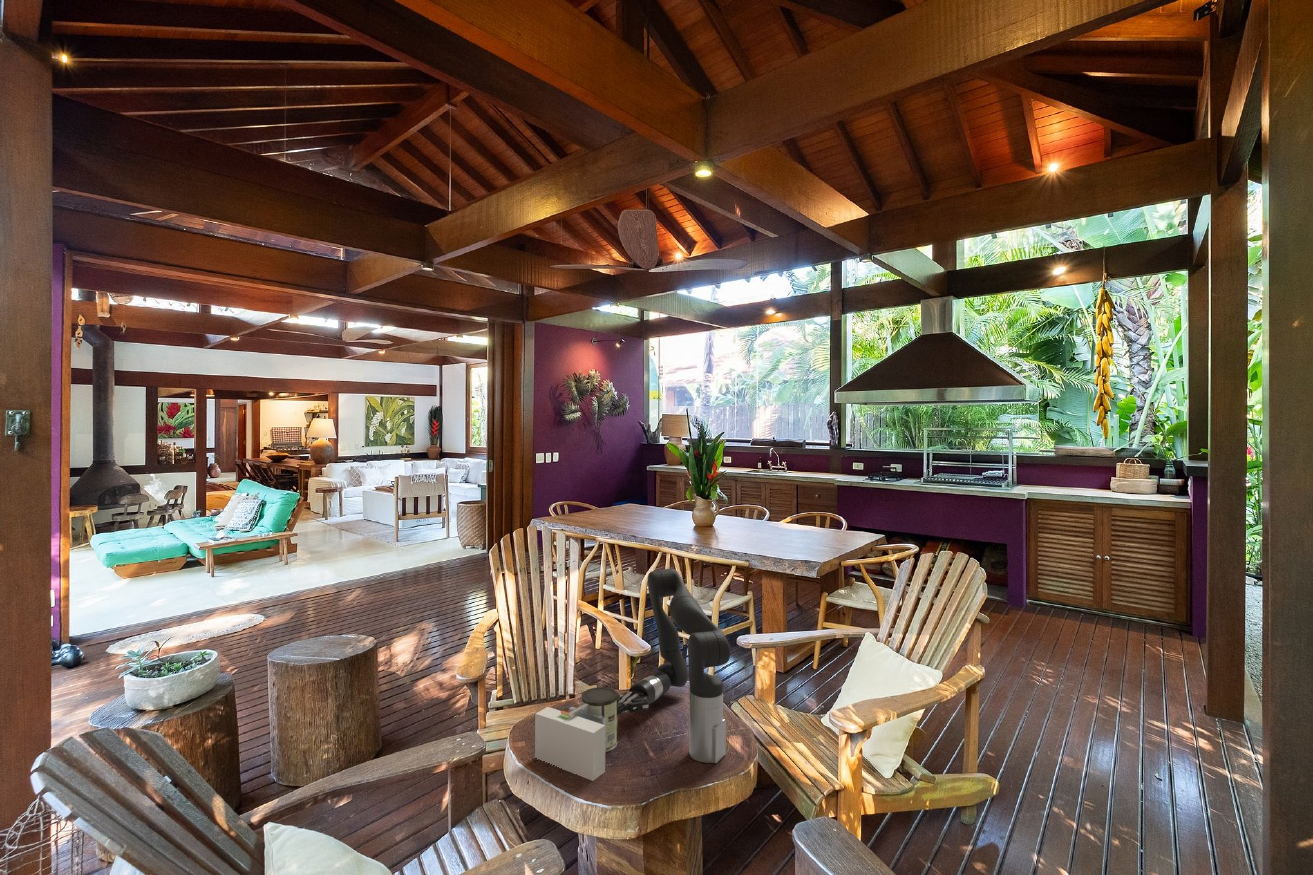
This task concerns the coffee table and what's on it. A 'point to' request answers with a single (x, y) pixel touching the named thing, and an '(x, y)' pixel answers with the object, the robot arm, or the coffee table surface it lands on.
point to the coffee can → (604, 710)
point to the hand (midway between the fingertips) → (614, 711)
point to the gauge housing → (570, 743)
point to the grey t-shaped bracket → (586, 715)
